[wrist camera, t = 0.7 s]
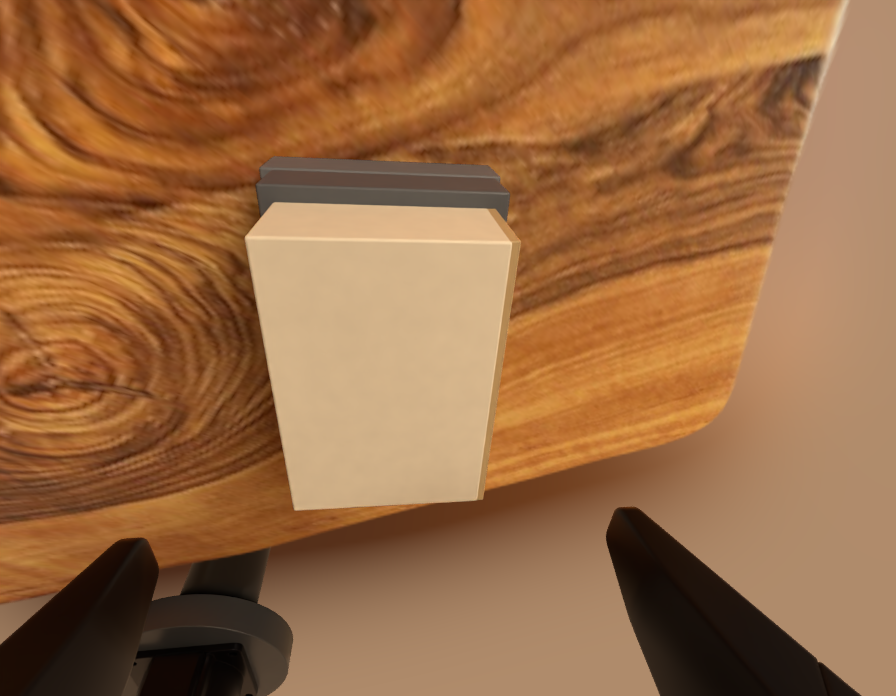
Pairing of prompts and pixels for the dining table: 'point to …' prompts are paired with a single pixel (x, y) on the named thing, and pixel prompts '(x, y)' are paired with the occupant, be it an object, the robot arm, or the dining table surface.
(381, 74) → the dining table surface
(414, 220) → the beige rectangular block
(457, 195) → the grey book stack
